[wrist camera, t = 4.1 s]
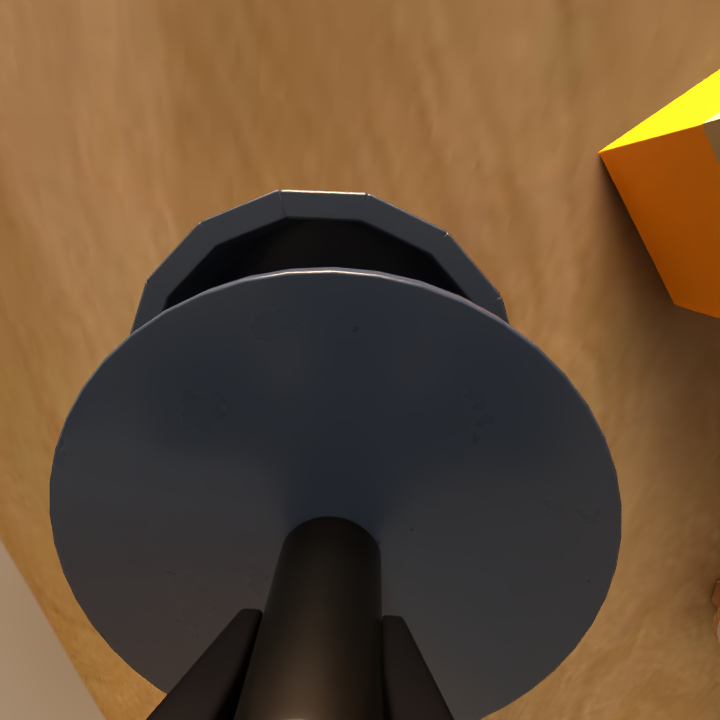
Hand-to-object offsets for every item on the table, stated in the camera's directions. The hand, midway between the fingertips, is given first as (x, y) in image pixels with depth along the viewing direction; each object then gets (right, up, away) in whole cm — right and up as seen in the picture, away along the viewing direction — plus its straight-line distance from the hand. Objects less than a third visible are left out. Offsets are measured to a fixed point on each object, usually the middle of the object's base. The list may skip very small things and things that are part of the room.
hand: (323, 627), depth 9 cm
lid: (0, +1, +2) cm, 2 cm away
